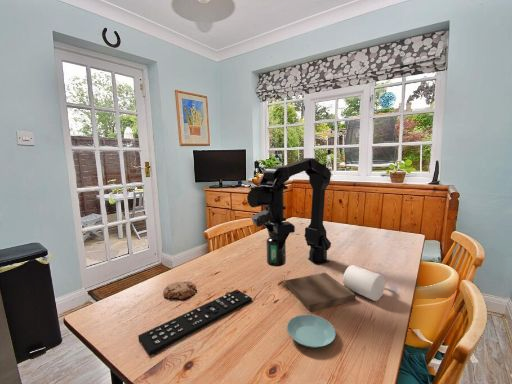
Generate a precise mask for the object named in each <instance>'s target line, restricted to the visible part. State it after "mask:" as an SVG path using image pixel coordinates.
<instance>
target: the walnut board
mask: <svg viewBox="0 0 512 384" xmlns="http://www.w3.org/2000/svg"><path fill="white" fill-rule="evenodd" d="M285 287H287V289H288V290H289V291H290V292H291V293H292V294H293V295H294V296H295V297H296V299H297V300H299V301H300V303H301V304H302V306H304V307H305V308H306V309H307V311H308V312H313V311H317V310H323V309H326V308H330V307H334V306H337V305H343V304H346V303H350V302H354V301H356V294H355V292H354V291H351V290H349V289H347V288H346V287H345V286H344V284H342V283H341V282H339V280H336V279H335V278H334V277H332V276H331V275H329V274H328V273H327V272H321V273H316V274H315V273H314V274H311V275H305V276H300V277H297V278H296V277H295V278H291V279H286V280H285Z"/></svg>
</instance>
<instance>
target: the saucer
mask: <svg viewBox="0 0 512 384" xmlns="http://www.w3.org/2000/svg"><path fill="white" fill-rule="evenodd" d="M286 330H287V331H286V332H287V333H288V334H289V336H290V337H291V339H292V340H294V342H296V343H298V344H299V345H302V346H304V347H307V348H312V349H313V348H315V349H316V348H323V347H325V346H328V345H329V344H332V342H333V341H334V340H335V338H336V335H337V334H336V330H335V327H334V326H333V324H332V323H330V322H329V321H328V320H327V319H325V318H323V317H321V316H319V315H313V314H300V315H299V314H298V315H296V316H294V317H292V318H291V319H290V320H289V321H288V322H287V325H286Z"/></svg>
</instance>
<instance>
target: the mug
mask: <svg viewBox="0 0 512 384" xmlns="http://www.w3.org/2000/svg"><path fill="white" fill-rule="evenodd" d="M342 277H343V278H342V283H343V284H342V285H343V286H345V287H346V288H347V289H349V290H350V291H352V292H353V293H356V294H358V295H361V297H364V298H367V299H368V300H369V299H370V300H371V301H373V302H377V301H379V300H380V299H381V297H382V296H383V294H384V291H385V287H386V280H385V277H384V276H383V275H382V274H379V273H377V272H374V271H371V270H368V269H365V268H362V267H360V266H357V265H355V264H354V265H353V264H352V265H351V264H350V265H349V266H348V267H347V268H346V269H345V271H344V274H343V276H342Z"/></svg>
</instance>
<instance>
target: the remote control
mask: <svg viewBox="0 0 512 384" xmlns="http://www.w3.org/2000/svg"><path fill="white" fill-rule="evenodd" d="M251 302H253V298H252V297H251V296H249V295H248V294H246V293H245V292H242V291H241V290H239V289H237V288H236V289H234V290H232V291H231V292H228V293H226V294H224V295H222V296H220V297H217V298H216V299H213V300H211V301H208V302H207V303H204V304H203V305H201V306H198V307H196V308H194V309H192V310H190V311H188V312H186V313H183V314H181V315H178V316H177V317H174V318H173V319H171V320H170V319H169V321H166V322H164V323H161V324H160V325H158V326H156V327H153V328H151V329H149V330H147V331H145V332H143V333H141V334H138V335H137V336H138V337H137V338H138V341H139V342H140V343H141V346H143V348H144V349H145V351H146V352H147V354H148V355H149V356H152V355H155V354H157V353H158V352H160V351H162V350H164V349H165V348H168V347H169V346H171V345H173V344H176V343H177V342H179V341H180V340H182V339H184V338H186V337H188V336H189V335H192V334H194V333H195V332H197V331H199V330H201V329H204V328H205V327H207V326H208V325H210V324H212V323H214V322H216V321H218V320H220V319H222V318H224V317H225V316H227V315H229V314H231V313H233V312H234V311H236V310H238V309H240V308H242V307H244V306H246V305H248V304H250V303H251Z"/></svg>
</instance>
